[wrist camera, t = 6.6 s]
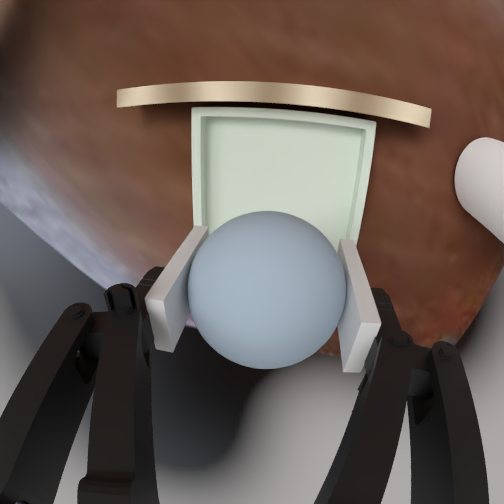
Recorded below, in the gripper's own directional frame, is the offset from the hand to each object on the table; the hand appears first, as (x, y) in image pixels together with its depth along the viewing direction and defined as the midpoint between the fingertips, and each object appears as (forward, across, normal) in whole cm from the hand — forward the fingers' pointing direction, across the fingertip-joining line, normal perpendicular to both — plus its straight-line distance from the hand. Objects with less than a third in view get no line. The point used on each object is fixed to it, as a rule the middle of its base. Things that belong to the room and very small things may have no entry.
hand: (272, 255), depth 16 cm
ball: (0, 0, 0) cm, 0 cm away
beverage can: (+12, +20, +5) cm, 24 cm away
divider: (+11, -1, +9) cm, 14 cm away
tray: (+11, 0, 0) cm, 11 cm away
